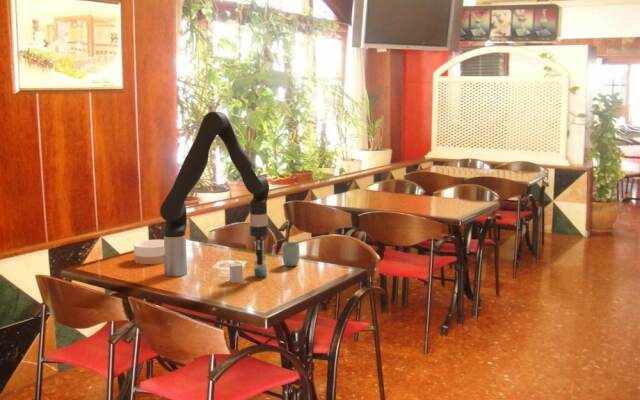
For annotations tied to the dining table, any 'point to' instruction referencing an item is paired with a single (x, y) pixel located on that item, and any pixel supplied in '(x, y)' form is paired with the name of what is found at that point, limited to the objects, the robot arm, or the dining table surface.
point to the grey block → (236, 273)
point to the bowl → (149, 251)
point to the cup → (290, 253)
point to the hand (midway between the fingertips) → (259, 264)
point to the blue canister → (261, 267)
